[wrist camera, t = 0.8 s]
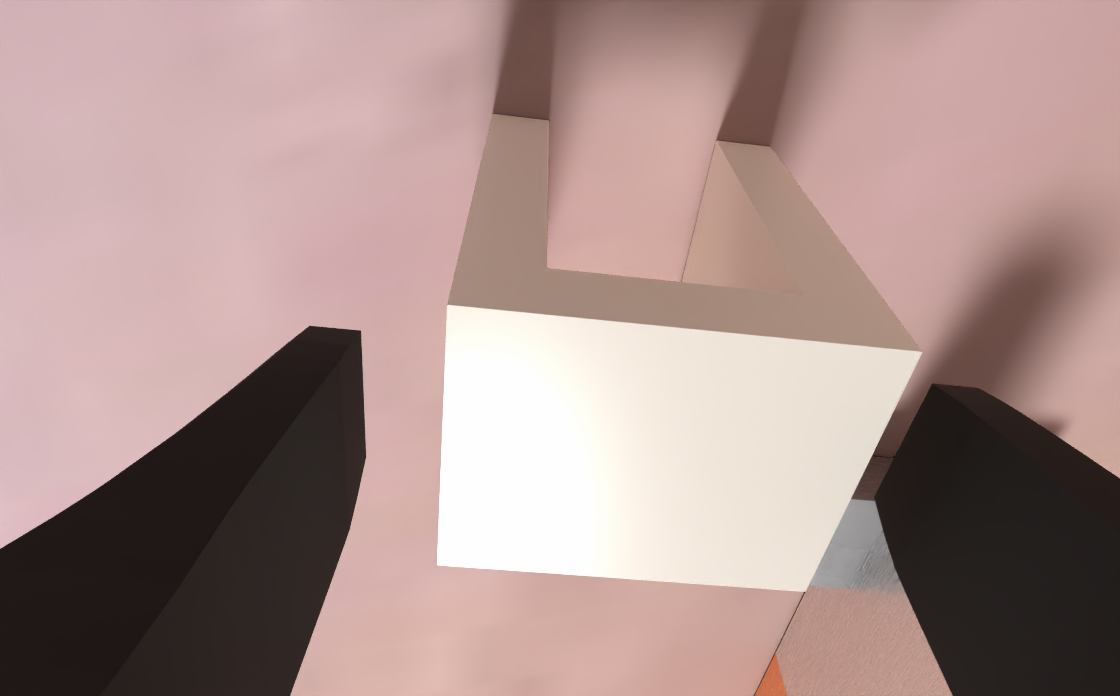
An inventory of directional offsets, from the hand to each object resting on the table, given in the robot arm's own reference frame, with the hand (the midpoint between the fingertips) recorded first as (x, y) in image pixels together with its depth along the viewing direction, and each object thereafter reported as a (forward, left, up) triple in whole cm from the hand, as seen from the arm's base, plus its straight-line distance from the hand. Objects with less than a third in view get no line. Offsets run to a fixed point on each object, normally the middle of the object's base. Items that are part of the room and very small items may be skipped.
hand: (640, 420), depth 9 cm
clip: (0, 0, -6) cm, 6 cm away
